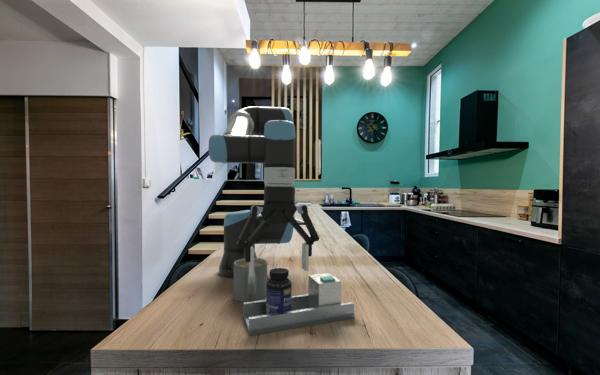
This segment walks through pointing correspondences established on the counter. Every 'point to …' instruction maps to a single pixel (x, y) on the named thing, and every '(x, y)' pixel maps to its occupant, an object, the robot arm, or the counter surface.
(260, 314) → the rail
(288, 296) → the pill bottle
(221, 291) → the counter surface
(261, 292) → the coffee mug
